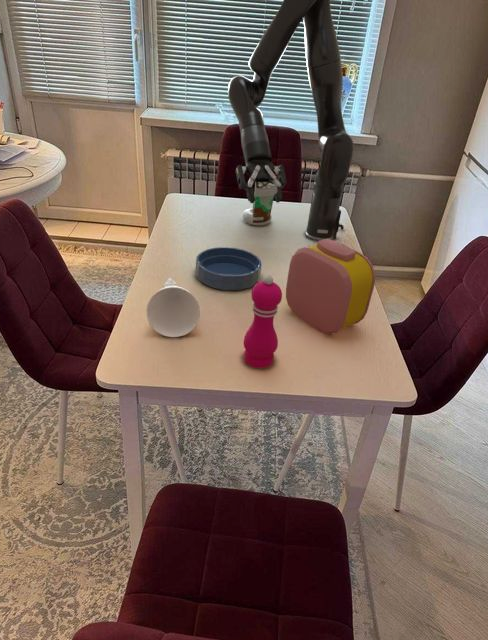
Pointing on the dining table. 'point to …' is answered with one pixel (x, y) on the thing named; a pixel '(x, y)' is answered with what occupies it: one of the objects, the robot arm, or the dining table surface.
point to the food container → (263, 200)
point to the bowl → (228, 268)
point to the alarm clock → (329, 285)
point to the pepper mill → (262, 324)
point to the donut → (249, 217)
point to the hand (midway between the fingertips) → (265, 201)
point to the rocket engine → (173, 310)
